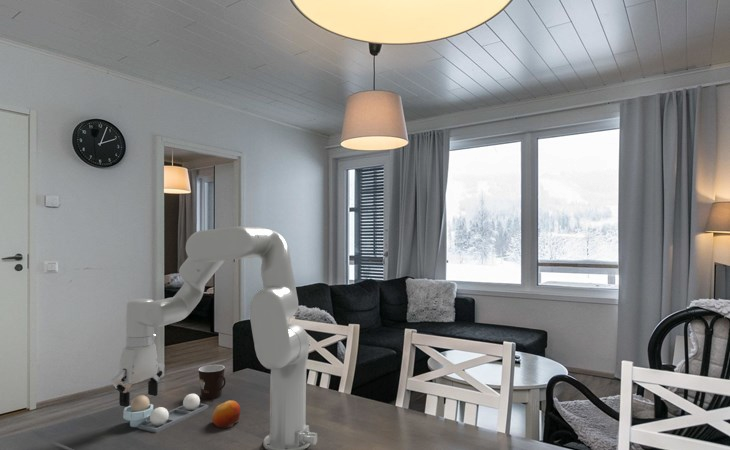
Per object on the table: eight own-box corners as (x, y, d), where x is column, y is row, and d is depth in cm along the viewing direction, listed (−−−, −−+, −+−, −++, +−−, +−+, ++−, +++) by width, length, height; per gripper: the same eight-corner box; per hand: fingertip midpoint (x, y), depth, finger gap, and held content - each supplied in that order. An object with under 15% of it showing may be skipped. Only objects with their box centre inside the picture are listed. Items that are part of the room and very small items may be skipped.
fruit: (238, 427, 128) (225, 401, 129) (216, 439, 130) (203, 414, 131) (251, 416, 136) (238, 392, 137) (230, 428, 137) (218, 404, 139)
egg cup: (159, 422, 134) (159, 405, 135) (136, 433, 127) (136, 414, 127) (140, 418, 138) (140, 401, 138) (116, 428, 130) (117, 410, 131)
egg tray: (208, 409, 145) (208, 404, 145) (156, 434, 127) (156, 429, 127) (191, 405, 148) (191, 401, 148) (137, 430, 129) (137, 425, 129)
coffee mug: (196, 395, 158) (197, 366, 158) (222, 392, 162) (223, 363, 162) (199, 406, 148) (200, 375, 148) (227, 402, 151) (227, 372, 152)
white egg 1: (172, 424, 132) (172, 406, 133) (157, 428, 128) (158, 409, 129) (160, 422, 135) (161, 404, 136) (145, 426, 130) (146, 408, 131)
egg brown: (139, 410, 136) (142, 392, 137) (151, 413, 134) (154, 395, 135) (125, 413, 131) (128, 394, 132) (137, 415, 129) (140, 397, 130)
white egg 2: (203, 408, 145) (203, 392, 145) (191, 413, 140) (191, 397, 140) (191, 406, 147) (191, 390, 147) (179, 411, 142) (179, 395, 142)
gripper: (154, 334, 143) (153, 389, 142) (104, 346, 127) (102, 408, 126) (172, 336, 140) (171, 392, 139) (123, 349, 124) (121, 412, 123)
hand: (139, 400), depth 133 cm, fingers open, 9 cm apart
